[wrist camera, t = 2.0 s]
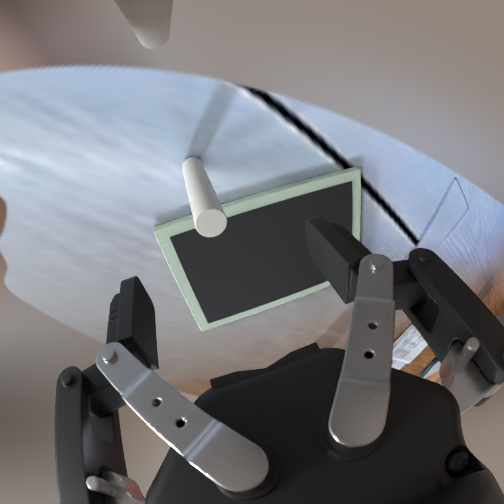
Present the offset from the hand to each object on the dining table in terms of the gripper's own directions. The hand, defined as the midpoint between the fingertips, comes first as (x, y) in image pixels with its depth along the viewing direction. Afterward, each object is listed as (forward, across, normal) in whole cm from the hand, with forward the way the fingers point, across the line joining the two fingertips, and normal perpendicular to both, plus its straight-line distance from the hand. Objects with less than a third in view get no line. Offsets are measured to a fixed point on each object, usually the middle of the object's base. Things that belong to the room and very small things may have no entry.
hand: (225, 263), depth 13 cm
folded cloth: (+16, -34, +59) cm, 70 cm away
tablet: (+16, -6, +13) cm, 21 cm away
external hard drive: (+17, -67, +92) cm, 115 cm away
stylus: (+16, 0, 0) cm, 16 cm away
